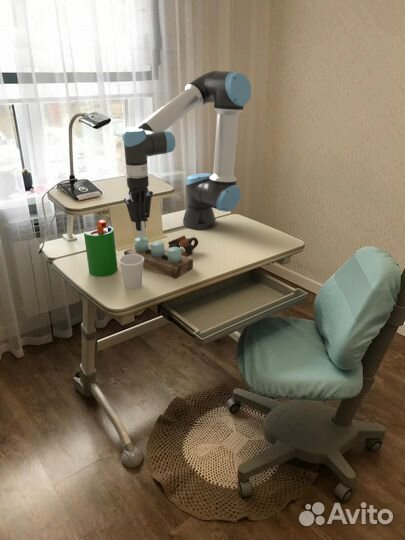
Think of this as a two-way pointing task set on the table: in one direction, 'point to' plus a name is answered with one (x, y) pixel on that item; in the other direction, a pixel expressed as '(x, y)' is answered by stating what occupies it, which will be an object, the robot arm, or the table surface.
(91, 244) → the green pen holder
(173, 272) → the mount
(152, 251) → the knob
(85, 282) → the table surface
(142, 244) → the knob
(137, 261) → the dixie cup
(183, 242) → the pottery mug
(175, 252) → the knob
